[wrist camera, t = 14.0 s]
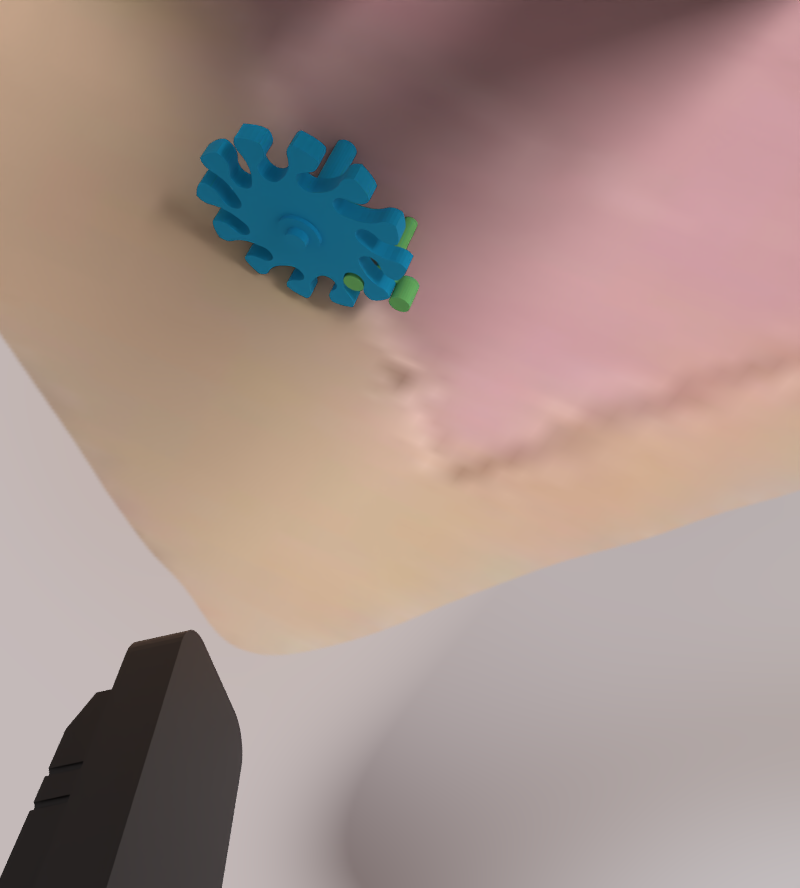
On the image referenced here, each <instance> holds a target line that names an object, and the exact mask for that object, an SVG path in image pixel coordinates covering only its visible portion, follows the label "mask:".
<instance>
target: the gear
mask: <svg viewBox="0 0 800 888" xmlns="http://www.w3.org/2000/svg"><path fill="white" fill-rule="evenodd" d="M272 144H273V137H272V134H271V132H270V131H269V130H268V129H267V128H264V127H262V126H258V125H253V124H243V125H242V127H241V128H240V130H239V131H238V133H237V134H236V136H235V137H234V145H235V147H234V146H233V145H232V144H231V143H230V142H229V141H228V140H226V139H218V140H215V141H213V142H212V143H210V144H209V145H208V147H207V148H206V150H205V151H204V153H203V154H202V156H201V157H200V159H201V162H202V163H203V164H204V165H205V167H206V168H208V169H209V170H208V171H207V172H206V174H205V175H204V177H203V178H202V180H201V182H200V183H199V185H198V187H197V196H198V197H199V198H200V199H201V200H202V201H204V202H206V203H208V204H211V205H215V206H218V207H220V208H221V209H220V210H219V212H218V213H217V215H216V217H215V218H214V220H213V225H214V228H215V230H216V232H217V234H218V236H219V237H220V238H222V239H224V240H227V241H234V240H244V241H248V242H252V243H254V244H252V246H251V248H250V250H249V251H248V253H247V255H246V256H245V259H246V261H247V262H248V263H249V265H250V266H252V267H253V268H254V269H255V270H256V271H257V272H258V273H260V274H267V273H268V272H269V270H270V269H271V268H273V267H275V266H293V267H295V269H294V271H293V273H292V275H291V276H290V278H289V280H288V282H287V287H289V288H290V289H291V290H293V291H294V292H296V293H298V294H299V295H301V296H303V297H305V298H309V297H310V296H311V294H312V292H313V290H314V288H315V286H316V284H317V282H318V280H317V277H318V276H327V277H329V278H331V279H332V280H333V281H334V282H335V284H334V286H333V288H332V290H331V292H330V294H329V297H330V299H331V300H332V302H335V303H337V304H340V305H344V306H349V307H353V306H354V304H355V302H356V300H357V298H358V296H359V294H360V291H362V290H364V293H365V295H366V296H367V297H368V298H369V299H371V300H375V301H378V300H385V299H388V298H390V299H389V303H390V305H391V306H392V307H393V308H394V309H396V310H398V311H401V312H406V311H408V310H409V309H410V306H411V304H412V302H413V300H414V298H415V295H416V293H417V291H418V289H419V284H418V282H417V281H416V280H415V279H414V278H412V277H409V276H404V275H405V273H406V271H407V269H408V267H409V264H410V262H411V260H412V258H413V255H412V254H411V253H410V252H409V251H408V250H406V249H407V247H408V244H409V242H410V240H411V238H412V236H413V234H414V232H415V230H416V227H417V225H418V224H417V221H416V220H415V219H413V218H411V217H404V214H403V212H402V211H401V210H399V209H396V208H384V209H371V208H367V207H363V206H360V205H358V204H366V203H368V202H369V200H370V199H371V197H372V195H373V193H374V191H375V189H376V187H377V184H376V182H375V180H374V178H373V177H372V175H371V174H370V173H369V172H368V170H367V169H366V168H365V167H364V166H363V165H362V164H352V165H351V163H352V161H353V160H354V158H355V156H356V154H357V150H356V148H355V146H354V145H353V144H352V143H351V142H349V141H347V140H339V141H338V142H337V144H336V145H335V147H334V149H333V151H332V152H331V154H330V156H329V158H328V160H327V161H326V163H325V165H324V167H323V168H322V170H321V172H320V174H319V176H318V177H317V178H316V177H314V176H312V175H311V174H310V173H308V172H314V171H315V170H316V169H317V168H318V166H319V164H320V162H321V161H322V159H323V157H324V155H325V153H326V146H324V145H323V144H322V143H321V142H320V141H319V140H317V139H316V138H314V137H313V136H311V135H309V134H307V133H306V132H304V131H302V130H301V131H298V132H297V133H296V135H295V137H294V138H293V140H292V142H291V143H290V145H289V147H288V148H287V157H288V167H286V168H279V167H276V166H275V165H273V164H272V163H271V162H270V161H269V160H268V158H267V156H266V153H267V152H268V150H269V149H270V147H271V145H272ZM235 148H236V149H237V151H238V152H239V153H240V154H241V155H242V157H243V158H244V160H245V161H246V163H247V165H248V167H249V169H250V172H251V174H249V173H247V172H245V171H244V170H243V169H242V168H241V167H240V165H239V163H238V155H237V151H236V149H235ZM232 189H233V190H232ZM355 203H356V204H355ZM394 287H395V288H394ZM363 288H364V289H363ZM392 292H393V293H392ZM391 294H392V295H391ZM390 296H391V297H390Z"/></svg>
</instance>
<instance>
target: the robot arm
mask: <svg viewBox="0 0 800 888" xmlns="http://www.w3.org/2000/svg"><path fill="white" fill-rule="evenodd" d="M241 765H242V741H241V733H240V728H239V723H238V720H237V716H236V714H235V711H234V709H233V707H232V705H231V702H230V700H229V698H228V696H227V693H226V691H225V689H224V687H223V685H222V682H221V680H220V678H219V676H218V674H217V671H216V669H215V667H214V665H213V662H212V660H211V658H210V656H209V653H208V651H207V649H206V647H205V645H204V642H203V641H202V639H201V637H200V636H199V635H198V633H197V632H195V631H194V630H189V631H184V632H180V633H175V634H170V635H166V636H161V637H156V638H152V639H147V640H143V641H138V642H135V643H133V644H132V645H131V646H130V647H129V648H128V651H127V653H126V655H125V657H124V660H123V662H122V665H121V667H120V670H119V673H118V675H117V678H116V680H115V683H114V685H113V688H112V689H111V690H106V691H102V692H97V693H96V694H95V695H94V696H93V698H92V699H91V700H90V701H89V702H88V703H87V705H86V706H85V707H84V708H83V709H82V711H81V712H80V713H79V714H78V715H77V717H76V718H75V719H74V720H73V721H72V723H71V724H70V725H69V726H68V727H67V728H66V730H65V732H64V735H63V737H62V739H61V742H60V744H59V746H58V748H57V750H56V753H55V755H54V757H53V760H52V762H51V764H50V766H49V776H45V778H44V780H43V782H42V784H41V787H40V789H39V791H38V793H37V796H36V798H35V800H34V804H35V808H34V810H31V811H30V812H29V814H28V816H27V818H26V821H25V823H24V825H23V827H22V830H21V832H20V834H19V836H18V839H17V841H16V843H15V846H14V848H13V850H12V852H11V855H10V857H9V859H8V861H7V864H6V866H5V868H4V871H3V873H2V875H1V877H0V888H222V882H223V876H224V870H225V864H226V858H227V852H228V846H229V839H230V833H231V827H232V821H233V815H234V808H235V802H236V796H237V790H238V784H239V777H240V772H241Z"/></svg>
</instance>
